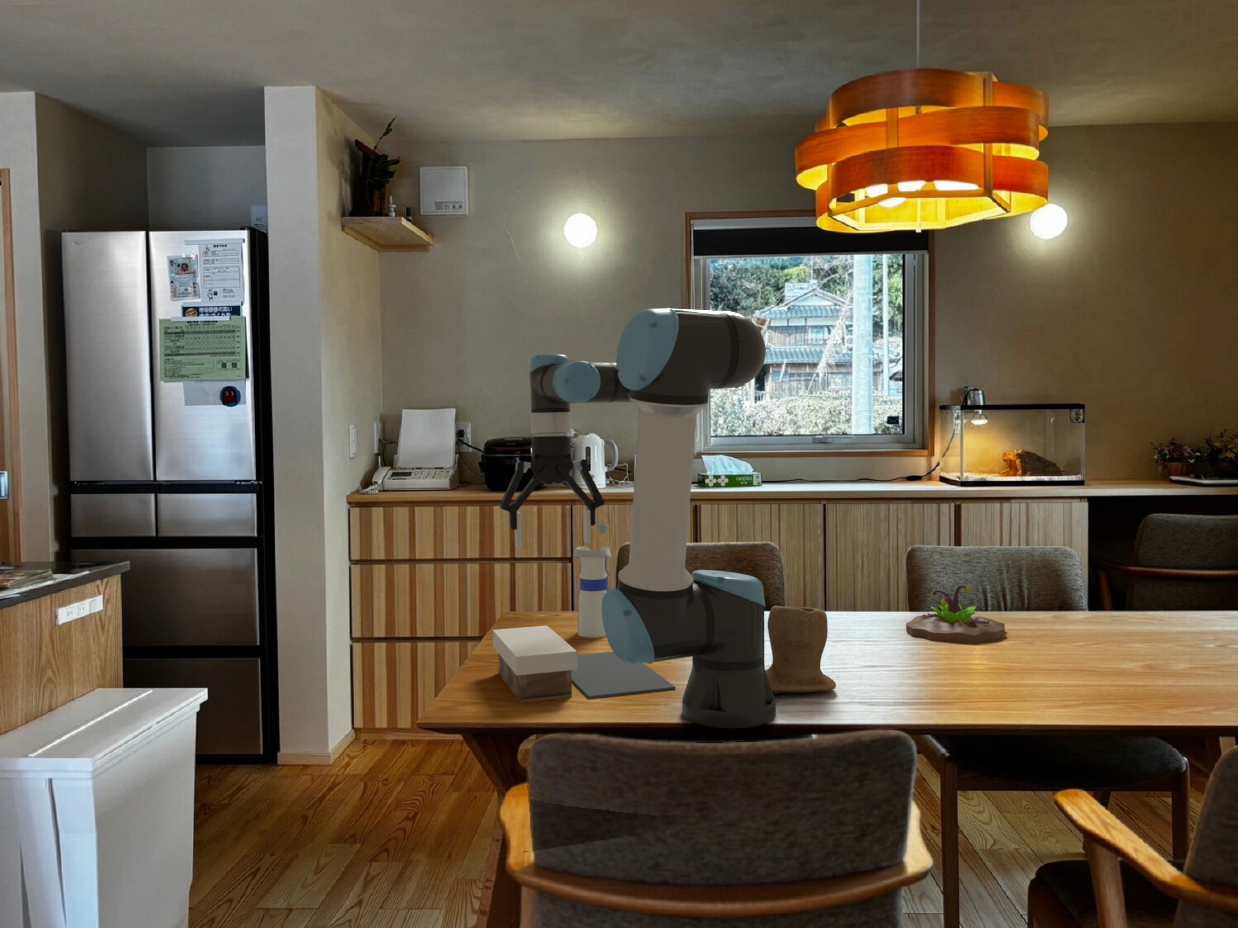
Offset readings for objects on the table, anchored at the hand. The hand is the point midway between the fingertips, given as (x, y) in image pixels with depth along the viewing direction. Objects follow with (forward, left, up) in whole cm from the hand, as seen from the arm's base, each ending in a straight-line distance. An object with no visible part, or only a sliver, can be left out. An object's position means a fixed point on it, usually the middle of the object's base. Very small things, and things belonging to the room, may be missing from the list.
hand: (553, 544), depth 185 cm
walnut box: (-11, +7, -24) cm, 27 cm away
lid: (-11, +7, -19) cm, 23 cm away
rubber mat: (-9, -8, -24) cm, 27 cm away
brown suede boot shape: (-30, -35, -24) cm, 52 cm away
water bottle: (+24, -15, -24) cm, 37 cm away
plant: (-4, -90, -24) cm, 93 cm away
